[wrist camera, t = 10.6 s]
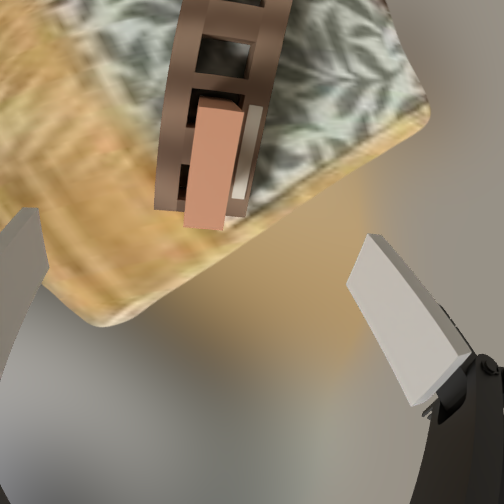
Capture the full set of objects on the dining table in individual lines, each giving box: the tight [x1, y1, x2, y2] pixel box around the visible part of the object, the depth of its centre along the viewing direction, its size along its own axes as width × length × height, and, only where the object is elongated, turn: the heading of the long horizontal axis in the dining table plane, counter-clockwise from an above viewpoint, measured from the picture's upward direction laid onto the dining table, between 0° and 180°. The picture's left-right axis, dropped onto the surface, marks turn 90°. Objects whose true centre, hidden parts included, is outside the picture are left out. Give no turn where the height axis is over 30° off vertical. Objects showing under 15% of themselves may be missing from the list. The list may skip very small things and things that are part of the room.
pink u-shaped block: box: [183, 95, 244, 230], centre depth 25 cm, size 9×3×10 cm, turn 169°
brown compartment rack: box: [154, 0, 293, 217], centre depth 24 cm, size 25×9×4 cm, turn 169°
